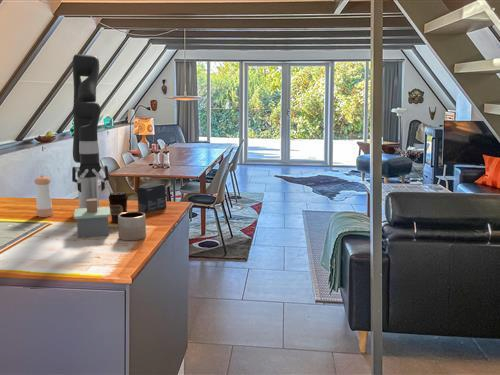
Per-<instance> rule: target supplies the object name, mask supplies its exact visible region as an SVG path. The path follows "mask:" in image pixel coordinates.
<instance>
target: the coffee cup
mask: <svg viewBox="0 0 500 375" xmlns="http://www.w3.org/2000/svg"><path fill="white" fill-rule="evenodd" d="M128 198H129V196H128V195H127V192H125V191H116V192H110V194H109V195H108V201H109V207H110V218H111V222H112V223H118V215H119V214H121V213H124V212H128V210H127V209H128Z"/></svg>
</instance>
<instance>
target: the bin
mask: <svg viewBox="0 0 500 375" xmlns="http://www.w3.org/2000/svg"><path fill="white" fill-rule="evenodd" d="M76 230H77V238H78V239H79V238H91V237H92V238H93V237H94V238H95V237H105V236H109V231H110V230H109V217H101V218H85V219H76Z"/></svg>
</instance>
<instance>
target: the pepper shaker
mask: <svg viewBox="0 0 500 375" xmlns="http://www.w3.org/2000/svg"><path fill="white" fill-rule="evenodd" d="M33 183H34V184H35V185H36V199H35V200H36V208H35V209H36V212H35V213H36V217H37V216H39V217H38V218H48V216H49V217H51V216H54V208H53V205H52V203H53V202H52V201H53V200H52V197H51V193H50V192H51V191H50V183H51V178H50V177H49V176H45V175H43V174H41V175H40V176H37V177H35V178H34V182H33Z"/></svg>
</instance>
